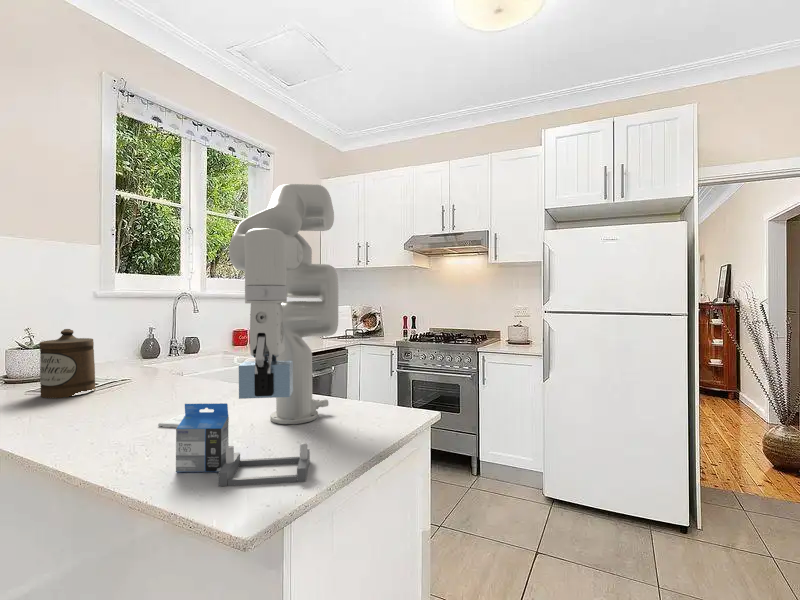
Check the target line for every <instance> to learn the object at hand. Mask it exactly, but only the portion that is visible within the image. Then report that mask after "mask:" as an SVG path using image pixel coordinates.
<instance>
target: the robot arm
mask: <svg viewBox="0 0 800 600" xmlns="http://www.w3.org/2000/svg"><path fill="white" fill-rule="evenodd" d="M334 222H335V211H334V207H333V201H332V197H331V195H330V192H329V190H328V189H327V188H326V187H325V186H323V185H320V184H313V183H312V184H309V183H306V184H305V183H287V184H286V183H285V184H281V185H279V186H278V187H276V189H275V190H274V191H273V193H272V195H271V198H270V201H269V203H268V205H267V208H266V209H263V210H260V211H259V212H257V213H255V214H252V215H251V216H250V215H249V216H247V217H245V218H244V219H243V220H241V221H240V222H239V223H238V225H237V226H236V227H235V230H234V232H233V234H232V236H231V239H230V241H229V242H230V243H229V245H228V246H229V247H228V256H229V261H230V262H231V264H232V266H233V267H234V268H235V269H237V270H239V271H241V272H242V271H243V272H244V303H245V304H250V314H249V315H250V316H249V352H250V355H251V357H252V358H253V359H255V360H254V361H255V374H254V379H255V396H272V395H273V373H271V370H272V361H293V392H292V394H291V396H290V397H277V398H275V399H276V400H275V403H276V404H275V405H276V406H275V407H276V408H275V409H276V411H274V412H272V413H271V414H270V417H269V419H270V421H271V422H272V423H275V424H279V425H300V424H305V423H310V422H312V421H314V420H316V419H318V417H319V412H318V409H319V408H325V407H329V404H330V403H329V400H328V398H327V399H326V398H325V399H321V400H320V399H319V398H318V399H314V398H313V353H312V350H311V348H310V346H309V345H308V343H306V341H305V340H304V339H303V338H306V337H329V336H334V335H335V334H336V333H337V330H338V326H339V278H338V277H339V276H338V272H337V270H336V268H335V267H334V266H333V265H332V264H331V265H330V264H326V263H322V264H321V263H313V262H312V260H313V259H312V257H313V256H312V255H313V250H312V247H311V246H310V244H309V243H308V241H307V240H306V239H305V238H304V237H303V236H302V235H301V234H300V233H299V232H300V231H301V232H302V231H303V232H327V231H329V230H331V228H332V227H333V226H334ZM288 298H289V299H291V298H292V299H319V300H317V301H313V300H311V301H309V300H308V301H306V300H293V301H292V300H291V301H290V300H289V301H287V300H288ZM267 361H268V362H267Z"/></svg>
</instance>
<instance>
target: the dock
mask: <svg viewBox="0 0 800 600" xmlns="http://www.w3.org/2000/svg"><path fill="white" fill-rule="evenodd" d="M234 448H235V447H234V446H233V445H229V446H227V447H226V463H225V464H224V465H223V467H222V468H221V470H220V471H219V472H217V473H218V474H217V475H218V477H217V479H218V483H217V484H218V486H217V487H227V486H228V487H229V486H231V487H233V486H234V487H235V486H250V485H251V486H252V485H267V484H270V485H271V484H283V483H299V482H300V483H301V482H303V483H304V482H307V481H306V480H307V476H308V472H309V466H310V462H311V458H310V457H311V456H310V455H311V453H310V452H311V451H310V450H311V449H309V448H308V442H300V443H299V456H287V457H286V456H285V457H284V456H283V457H266V458H246V459H245V458H244V459H243V458H242V459H241V452H235V451H234V450H235V449H234ZM287 464H292V465H293V464H297V466H296V474H282V475H267V476H250V477H247V476H246V477H234V476H235V474H236V473H237V471H238V469H239V468H238V467H246V466H245V465H253V466H269V465H287ZM239 465H240V466H239ZM236 470H237V471H236ZM235 472H236V473H235ZM233 475H234V476H233Z"/></svg>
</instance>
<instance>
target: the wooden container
mask: <svg viewBox="0 0 800 600" xmlns="http://www.w3.org/2000/svg"><path fill="white" fill-rule="evenodd" d="M74 333H75V331H74V330H73V329H71V328H65V329H62V330H61V331H60V335H61V336H60V337H59V338H57V339H51V340H43V341H40V342H39V351H40V354H39V357H40V362H39V363H40V365H39V367H40V368H39V370H40V371H39V381H40V382H39V383H40V397H41V398H44V399H64V398H63V397H66V398H70V397H69V396H72V395H74V394H75V393H78V392H81V391H87V390H92V389H94V388H95V389H96V366H95V365H96V364H95V353H94V352H95V350H94V346H95V345H94V339H93V338H89V337H88V338H87V337H82V338H81V337H80V338H79V337H76V336H74V335H73V334H74Z"/></svg>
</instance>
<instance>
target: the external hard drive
mask: <svg viewBox="0 0 800 600" xmlns="http://www.w3.org/2000/svg"><path fill="white" fill-rule="evenodd" d="M199 411H200V412H214V410H211V411H210V410H199ZM184 416H185V412H184V413H181V414H179V415H176V416H174V417H171V418H169V419H167V420H164V421H162V422H159V423H158V424H157V427H158V426H163V427H162V428H167V427H178V426H179V424H180V423H181V421H182V419H183V418H184Z"/></svg>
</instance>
